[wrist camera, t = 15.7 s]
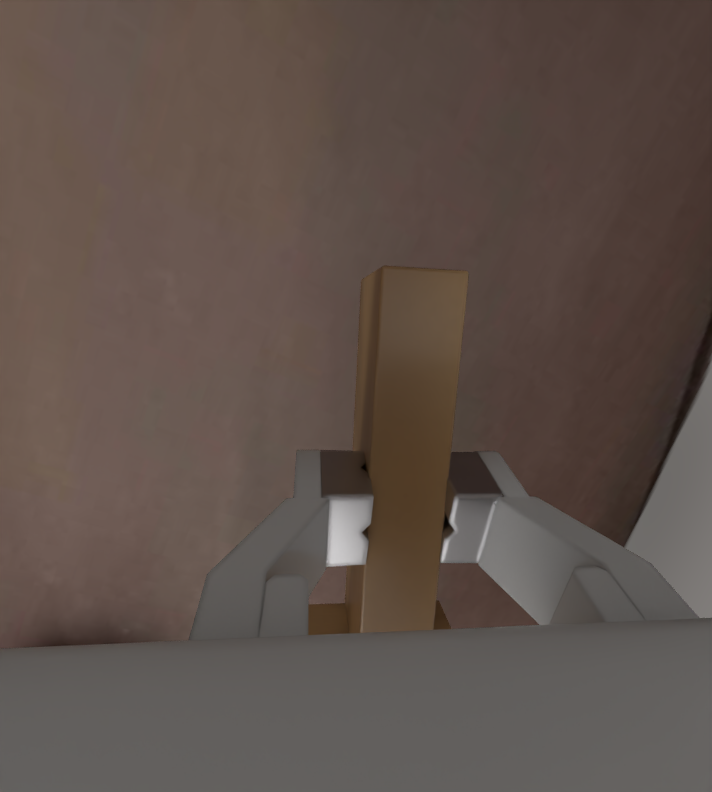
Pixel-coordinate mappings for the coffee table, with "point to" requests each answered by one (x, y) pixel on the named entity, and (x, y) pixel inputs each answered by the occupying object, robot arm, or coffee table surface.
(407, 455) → the fork
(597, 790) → the robot arm
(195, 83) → the coffee table surface
